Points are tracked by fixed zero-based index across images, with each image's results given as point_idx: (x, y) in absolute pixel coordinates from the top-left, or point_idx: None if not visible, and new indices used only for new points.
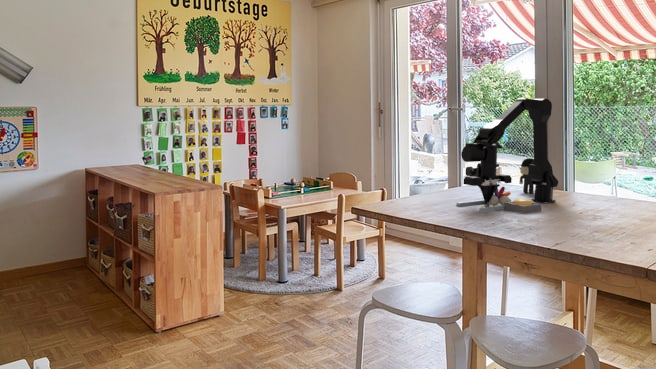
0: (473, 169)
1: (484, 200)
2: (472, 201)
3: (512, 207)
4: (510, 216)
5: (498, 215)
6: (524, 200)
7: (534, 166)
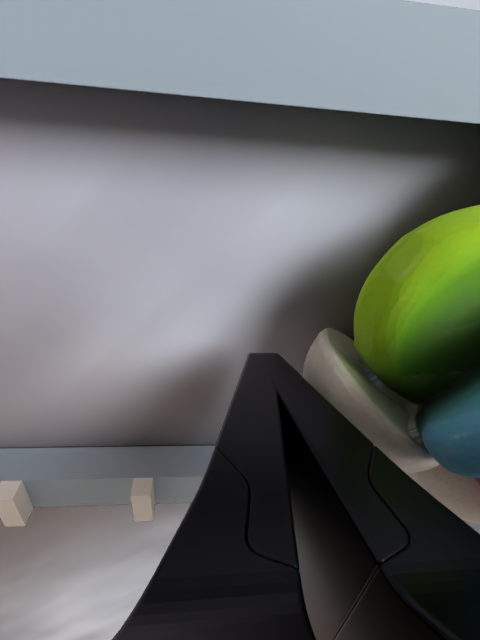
0: None
1: (243, 368)
2: (213, 63)
3: None
4: (120, 594)
5: (63, 568)
6: None
7: None
